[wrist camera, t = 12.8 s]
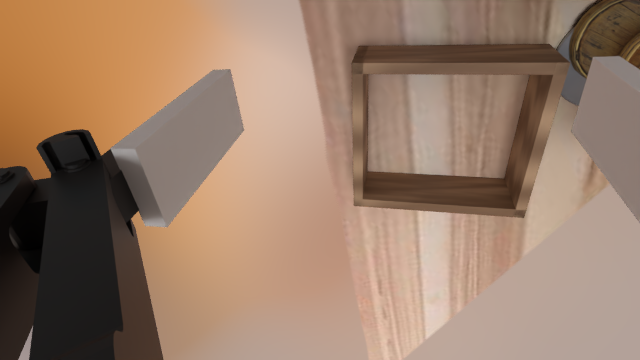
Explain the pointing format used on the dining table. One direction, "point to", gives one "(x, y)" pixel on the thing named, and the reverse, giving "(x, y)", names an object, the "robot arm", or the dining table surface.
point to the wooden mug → (606, 34)
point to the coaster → (571, 74)
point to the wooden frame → (456, 190)
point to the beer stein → (635, 1)
